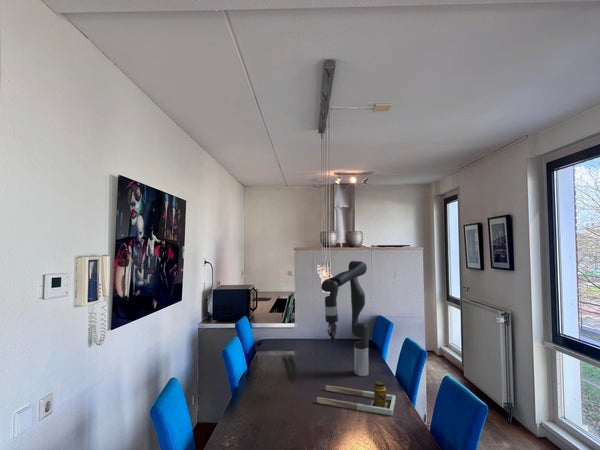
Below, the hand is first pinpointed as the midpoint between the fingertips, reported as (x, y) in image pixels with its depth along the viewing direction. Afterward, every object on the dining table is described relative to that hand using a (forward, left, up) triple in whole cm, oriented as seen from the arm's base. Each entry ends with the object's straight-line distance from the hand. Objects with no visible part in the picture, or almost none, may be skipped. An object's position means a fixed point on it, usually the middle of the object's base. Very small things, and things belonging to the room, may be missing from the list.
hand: (333, 342), depth 203 cm
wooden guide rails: (+12, +7, -27) cm, 30 cm away
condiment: (+12, +28, -27) cm, 41 cm away
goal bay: (+12, +26, -27) cm, 40 cm away
